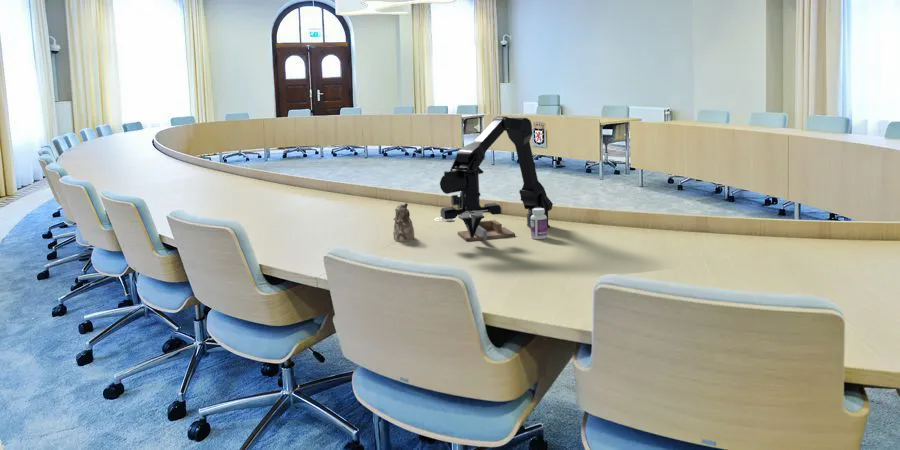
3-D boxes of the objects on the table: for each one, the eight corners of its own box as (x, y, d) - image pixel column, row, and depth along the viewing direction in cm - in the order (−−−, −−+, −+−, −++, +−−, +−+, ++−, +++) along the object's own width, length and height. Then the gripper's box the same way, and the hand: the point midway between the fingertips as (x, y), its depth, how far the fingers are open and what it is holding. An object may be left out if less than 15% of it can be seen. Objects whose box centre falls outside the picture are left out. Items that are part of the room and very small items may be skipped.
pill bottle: (548, 236, 228) (548, 207, 226) (545, 239, 224) (545, 210, 222) (532, 235, 230) (532, 207, 228) (529, 239, 225) (528, 210, 223)
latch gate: (487, 239, 221) (487, 230, 220) (482, 240, 220) (482, 231, 220) (479, 233, 230) (479, 225, 229) (474, 234, 229) (474, 225, 229)
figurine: (389, 239, 233) (386, 204, 231) (404, 235, 238) (402, 201, 236) (403, 242, 229) (401, 206, 226) (418, 238, 234) (417, 203, 231)
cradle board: (504, 229, 241) (504, 218, 240) (515, 236, 230) (514, 224, 229) (457, 234, 237) (457, 223, 236) (466, 241, 226) (465, 229, 225)
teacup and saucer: (455, 222, 259) (454, 211, 258) (433, 223, 259) (433, 212, 258) (455, 217, 267) (454, 207, 266) (434, 218, 267) (434, 208, 267)
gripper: (489, 183, 227) (491, 229, 231) (434, 188, 223) (437, 235, 226) (501, 188, 217) (502, 236, 220) (444, 193, 212) (446, 242, 215)
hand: (471, 237), depth 221 cm, fingers closed
